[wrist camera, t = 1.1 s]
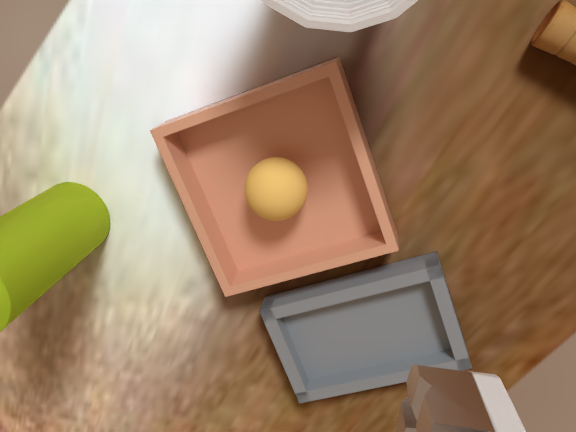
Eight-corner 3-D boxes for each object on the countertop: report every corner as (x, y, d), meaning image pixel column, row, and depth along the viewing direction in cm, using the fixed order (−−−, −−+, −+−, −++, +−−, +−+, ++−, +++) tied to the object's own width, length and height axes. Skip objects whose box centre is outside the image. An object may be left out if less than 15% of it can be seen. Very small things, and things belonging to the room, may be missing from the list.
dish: (339, 56, 37) (336, 61, 34) (397, 232, 41) (399, 250, 38) (166, 121, 40) (149, 130, 37) (235, 277, 44) (225, 296, 41)
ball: (299, 142, 39) (289, 158, 35) (319, 198, 40) (313, 220, 36) (242, 160, 40) (227, 178, 36) (264, 214, 41) (252, 237, 37)
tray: (436, 251, 41) (439, 265, 39) (467, 350, 43) (472, 368, 41) (265, 296, 45) (259, 311, 42) (302, 385, 47) (299, 403, 45)
